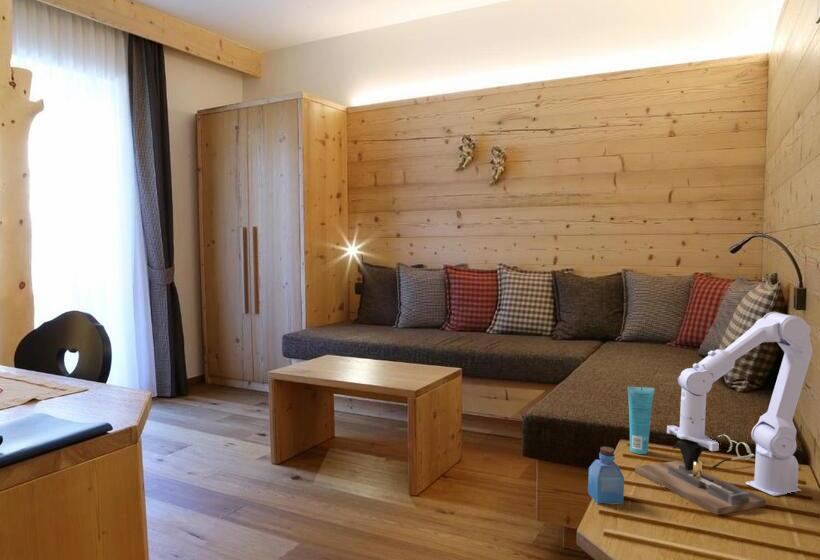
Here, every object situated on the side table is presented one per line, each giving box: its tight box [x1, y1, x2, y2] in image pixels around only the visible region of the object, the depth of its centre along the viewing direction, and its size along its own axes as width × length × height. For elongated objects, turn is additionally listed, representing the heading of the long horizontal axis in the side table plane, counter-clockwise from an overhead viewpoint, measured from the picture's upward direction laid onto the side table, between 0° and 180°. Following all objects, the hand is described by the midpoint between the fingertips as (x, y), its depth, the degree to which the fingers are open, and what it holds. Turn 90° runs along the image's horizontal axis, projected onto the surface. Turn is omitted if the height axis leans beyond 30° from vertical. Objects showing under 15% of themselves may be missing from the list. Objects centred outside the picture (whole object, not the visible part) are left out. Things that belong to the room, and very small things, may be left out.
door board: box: [634, 460, 767, 516], centre depth 145 cm, size 15×26×4 cm, turn 20°
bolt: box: [688, 459, 734, 494], centre depth 141 cm, size 2×12×5 cm, turn 20°
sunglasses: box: [672, 434, 756, 469], centre depth 168 cm, size 17×15×5 cm
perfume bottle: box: [587, 446, 625, 505], centre depth 137 cm, size 6×6×12 cm
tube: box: [627, 385, 656, 455], centre depth 169 cm, size 7×5×19 cm, turn 85°
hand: (690, 469), depth 146 cm, fingers closed
